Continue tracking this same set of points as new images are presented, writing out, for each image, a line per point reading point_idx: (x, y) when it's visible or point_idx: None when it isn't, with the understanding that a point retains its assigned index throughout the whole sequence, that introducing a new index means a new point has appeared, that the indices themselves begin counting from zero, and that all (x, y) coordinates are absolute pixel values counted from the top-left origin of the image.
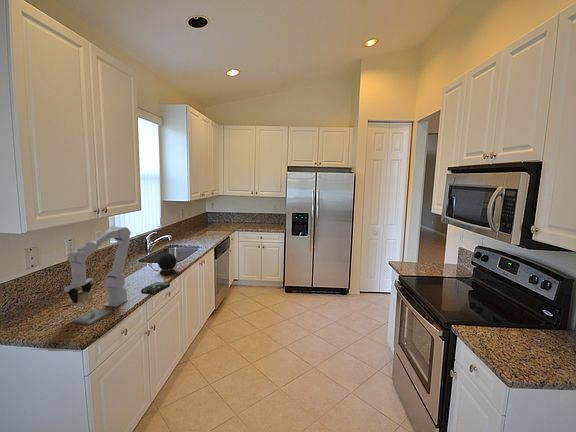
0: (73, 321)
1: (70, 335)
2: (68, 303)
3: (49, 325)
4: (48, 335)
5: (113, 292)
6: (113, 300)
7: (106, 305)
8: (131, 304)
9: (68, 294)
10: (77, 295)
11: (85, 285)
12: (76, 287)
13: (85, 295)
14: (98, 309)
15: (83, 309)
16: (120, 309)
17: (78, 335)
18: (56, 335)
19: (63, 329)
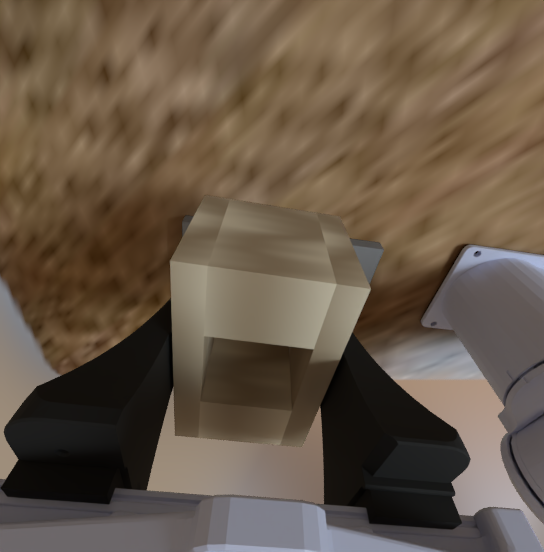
0: (182, 228)
1: (69, 303)
2: (202, 204)
3: (96, 58)
4: (2, 191)
5: (495, 387)
6: (458, 332)
7: (454, 265)
8: (444, 367)
9: (191, 263)
10: (163, 410)
11: (345, 494)
12: (166, 510)
13: (216, 436)
14: (370, 270)
15: (419, 125)
16: (381, 352)
17: (87, 333)
18: (30, 238)
19: (98, 224)
